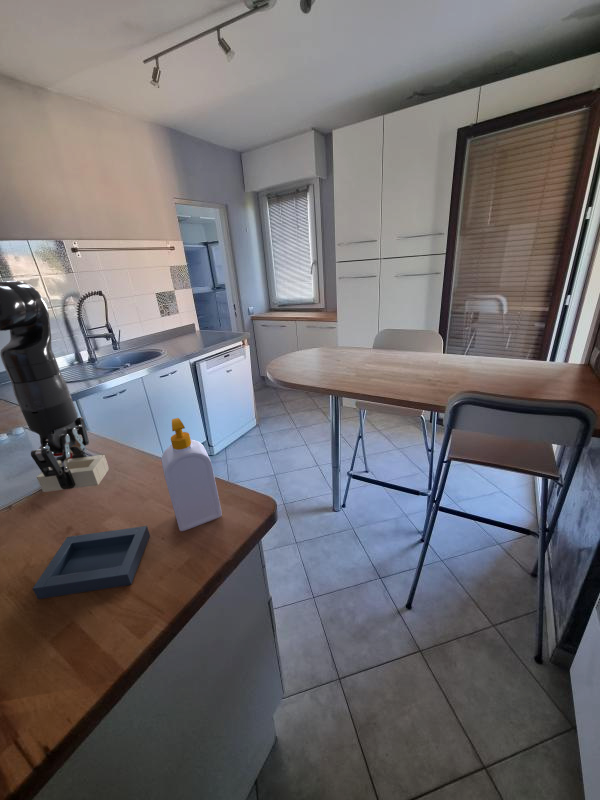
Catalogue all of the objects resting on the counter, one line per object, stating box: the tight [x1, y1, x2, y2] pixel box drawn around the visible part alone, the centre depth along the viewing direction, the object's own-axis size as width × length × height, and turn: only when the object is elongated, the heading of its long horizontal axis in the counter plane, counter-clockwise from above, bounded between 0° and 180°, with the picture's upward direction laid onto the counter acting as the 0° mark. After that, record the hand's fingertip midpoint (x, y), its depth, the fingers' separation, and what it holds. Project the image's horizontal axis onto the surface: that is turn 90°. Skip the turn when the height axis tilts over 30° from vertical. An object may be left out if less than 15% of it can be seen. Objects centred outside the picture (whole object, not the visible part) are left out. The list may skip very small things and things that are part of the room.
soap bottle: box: [161, 417, 223, 532], centre depth 69 cm, size 9×7×23 cm
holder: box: [32, 525, 151, 600], centre depth 62 cm, size 16×12×3 cm
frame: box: [36, 454, 110, 493], centre depth 66 cm, size 10×6×4 cm, turn 98°
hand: (76, 477), depth 66 cm, fingers closed on frame, 5 cm apart
